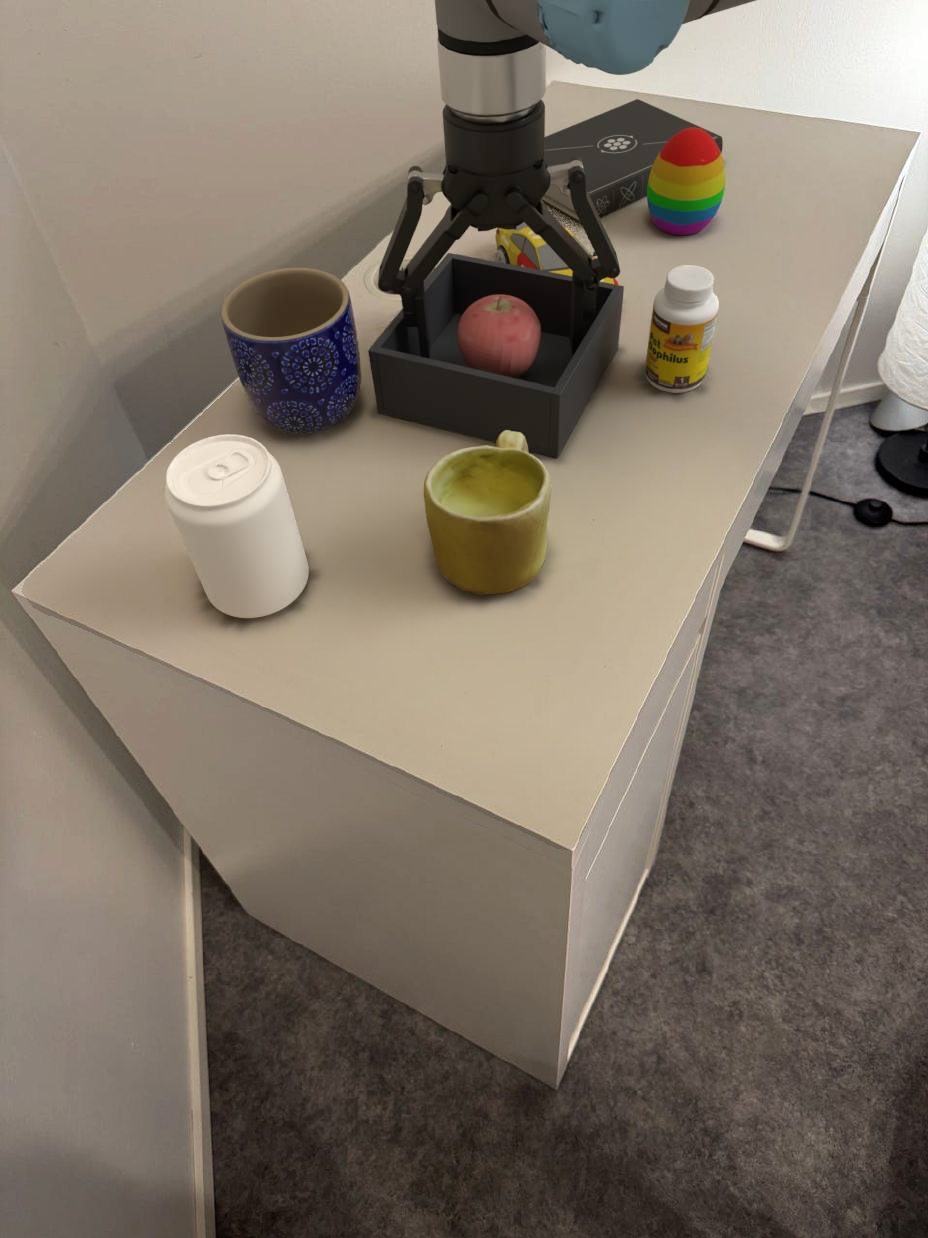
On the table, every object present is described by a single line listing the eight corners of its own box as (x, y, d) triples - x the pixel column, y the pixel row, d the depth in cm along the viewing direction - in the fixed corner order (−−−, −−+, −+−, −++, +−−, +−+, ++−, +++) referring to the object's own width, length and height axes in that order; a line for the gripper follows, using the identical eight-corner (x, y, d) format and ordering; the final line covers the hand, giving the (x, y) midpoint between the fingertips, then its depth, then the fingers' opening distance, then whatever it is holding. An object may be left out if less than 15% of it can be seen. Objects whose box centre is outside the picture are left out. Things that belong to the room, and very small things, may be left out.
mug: (530, 621, 64) (502, 496, 59) (417, 603, 70) (382, 488, 65) (603, 536, 72) (584, 419, 67) (495, 527, 78) (470, 418, 73)
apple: (488, 341, 87) (485, 265, 81) (554, 364, 84) (556, 287, 78) (444, 383, 84) (438, 306, 77) (511, 408, 81) (510, 331, 75)
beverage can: (188, 582, 71) (136, 469, 62) (272, 529, 74) (235, 414, 65) (244, 641, 67) (198, 529, 58) (331, 582, 70) (300, 467, 61)
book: (584, 226, 101) (586, 199, 99) (503, 178, 109) (502, 153, 106) (720, 163, 108) (725, 137, 106) (635, 123, 116) (637, 98, 114)
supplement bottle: (632, 381, 84) (643, 280, 76) (665, 352, 86) (679, 251, 78) (684, 404, 81) (701, 303, 73) (716, 373, 84) (736, 272, 76)
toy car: (562, 336, 88) (564, 291, 84) (484, 255, 98) (482, 211, 94) (630, 313, 90) (634, 268, 86) (546, 236, 100) (547, 192, 96)
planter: (272, 369, 88) (243, 263, 79) (380, 376, 86) (364, 268, 77) (235, 443, 81) (200, 336, 72) (352, 453, 79) (330, 344, 71)
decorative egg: (699, 199, 103) (713, 106, 96) (730, 233, 98) (748, 139, 91) (632, 211, 102) (641, 119, 95) (660, 247, 97) (672, 153, 90)
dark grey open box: (618, 349, 87) (624, 285, 81) (557, 458, 78) (560, 394, 72) (452, 314, 92) (447, 252, 86) (377, 413, 83) (367, 350, 77)
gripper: (658, 68, 67) (632, 318, 84) (327, 90, 68) (366, 333, 85) (674, 112, 63) (643, 367, 79) (318, 134, 63) (361, 383, 80)
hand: (500, 350), depth 82 cm, fingers open, 13 cm apart
